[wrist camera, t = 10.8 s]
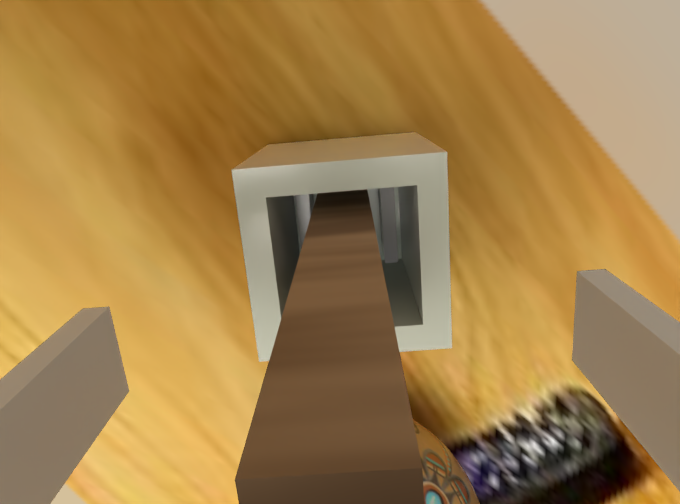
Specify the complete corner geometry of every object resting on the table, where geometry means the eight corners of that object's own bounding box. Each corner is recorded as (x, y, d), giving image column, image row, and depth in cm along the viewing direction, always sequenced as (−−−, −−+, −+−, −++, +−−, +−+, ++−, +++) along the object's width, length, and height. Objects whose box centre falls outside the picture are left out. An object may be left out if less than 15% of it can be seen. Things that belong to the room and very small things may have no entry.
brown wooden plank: (320, 181, 30) (234, 479, 7) (364, 177, 30) (421, 467, 7) (327, 248, 31) (271, 692, 8) (369, 245, 31) (432, 684, 8)
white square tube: (268, 144, 30) (231, 169, 21) (415, 131, 30) (447, 152, 20) (284, 282, 33) (259, 361, 23) (421, 271, 32) (451, 348, 23)
